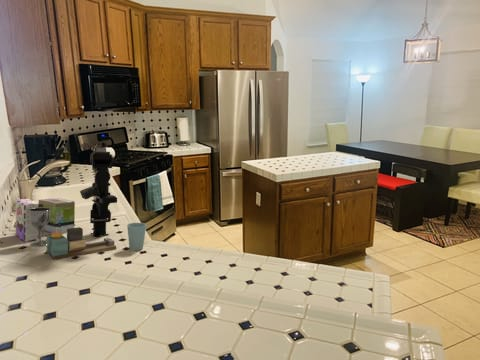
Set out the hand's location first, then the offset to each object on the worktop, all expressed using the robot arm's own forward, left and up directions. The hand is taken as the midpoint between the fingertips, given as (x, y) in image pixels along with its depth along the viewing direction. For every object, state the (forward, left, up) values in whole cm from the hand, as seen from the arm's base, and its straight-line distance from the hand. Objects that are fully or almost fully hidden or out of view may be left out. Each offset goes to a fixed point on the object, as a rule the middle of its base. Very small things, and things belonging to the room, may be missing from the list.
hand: (101, 216), depth 155 cm
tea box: (-32, -9, -12) cm, 35 cm away
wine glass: (-12, -21, -12) cm, 27 cm away
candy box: (-25, -23, -12) cm, 36 cm away
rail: (+6, -10, -12) cm, 17 cm away
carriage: (+6, -13, -10) cm, 18 cm away
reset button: (+6, -19, -5) cm, 21 cm away
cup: (+15, +9, -12) cm, 21 cm away
